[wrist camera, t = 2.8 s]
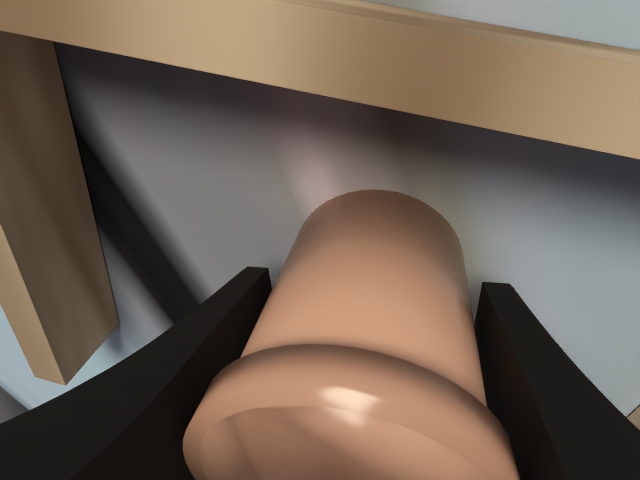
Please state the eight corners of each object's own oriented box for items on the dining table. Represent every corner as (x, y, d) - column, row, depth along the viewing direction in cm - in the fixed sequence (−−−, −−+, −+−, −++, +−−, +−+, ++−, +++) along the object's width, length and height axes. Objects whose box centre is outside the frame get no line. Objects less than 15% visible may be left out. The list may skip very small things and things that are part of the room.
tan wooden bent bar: (1037, 121, 7) (1365, 198, 5) (625, 459, 14) (667, 559, 12) (-18, -66, 9) (-181, -82, 6) (92, 316, 16) (34, 376, 14)
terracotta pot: (508, 205, 10) (608, 465, 5) (439, 348, 13) (452, 597, 8) (295, 159, 10) (169, 346, 5) (279, 307, 14) (191, 516, 8)
